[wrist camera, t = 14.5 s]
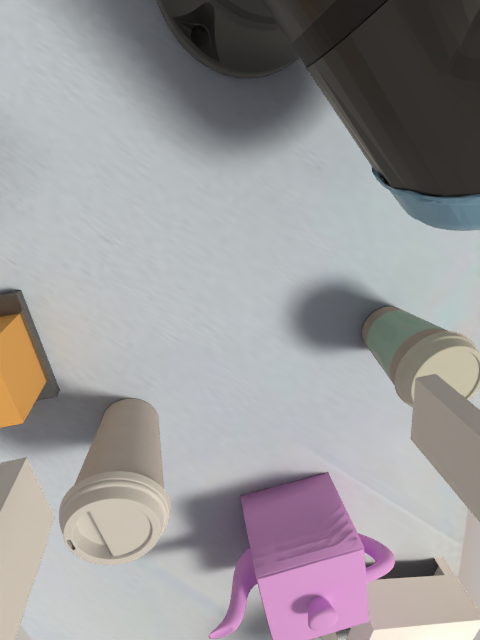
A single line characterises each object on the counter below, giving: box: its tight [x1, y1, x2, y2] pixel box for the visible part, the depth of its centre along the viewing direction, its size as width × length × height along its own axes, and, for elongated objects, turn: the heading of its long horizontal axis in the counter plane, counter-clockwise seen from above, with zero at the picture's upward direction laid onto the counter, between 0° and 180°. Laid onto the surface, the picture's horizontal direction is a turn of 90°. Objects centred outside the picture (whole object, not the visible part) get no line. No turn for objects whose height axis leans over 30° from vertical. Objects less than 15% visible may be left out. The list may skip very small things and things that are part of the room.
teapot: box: [209, 472, 395, 640], centre depth 51 cm, size 15×25×14 cm, turn 100°
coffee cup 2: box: [362, 306, 480, 407], centre depth 41 cm, size 9×8×12 cm
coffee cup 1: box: [59, 399, 171, 565], centre depth 39 cm, size 10×10×15 cm
